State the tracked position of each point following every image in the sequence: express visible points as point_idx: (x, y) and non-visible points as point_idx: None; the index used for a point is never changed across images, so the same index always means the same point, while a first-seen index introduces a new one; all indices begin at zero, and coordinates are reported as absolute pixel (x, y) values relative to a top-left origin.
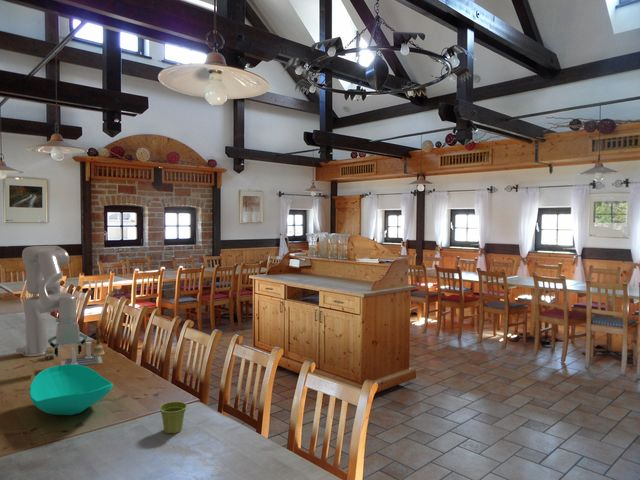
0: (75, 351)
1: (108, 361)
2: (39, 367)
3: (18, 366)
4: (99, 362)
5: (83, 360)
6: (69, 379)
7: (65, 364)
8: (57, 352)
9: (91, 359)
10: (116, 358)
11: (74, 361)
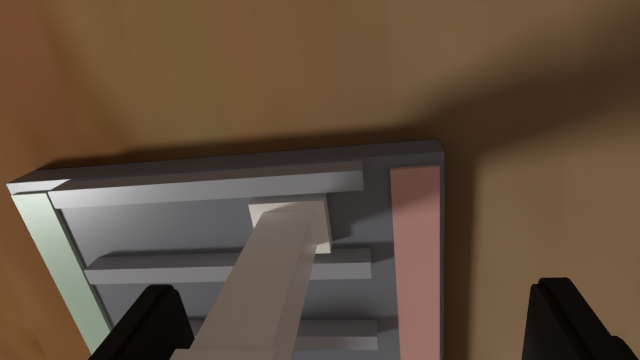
0: (208, 340)
1: (39, 284)
2: None
3: None
4: (44, 208)
5: None
6: None
7: (389, 283)
8: (580, 348)
9: None
10: (6, 331)
11: (275, 230)
